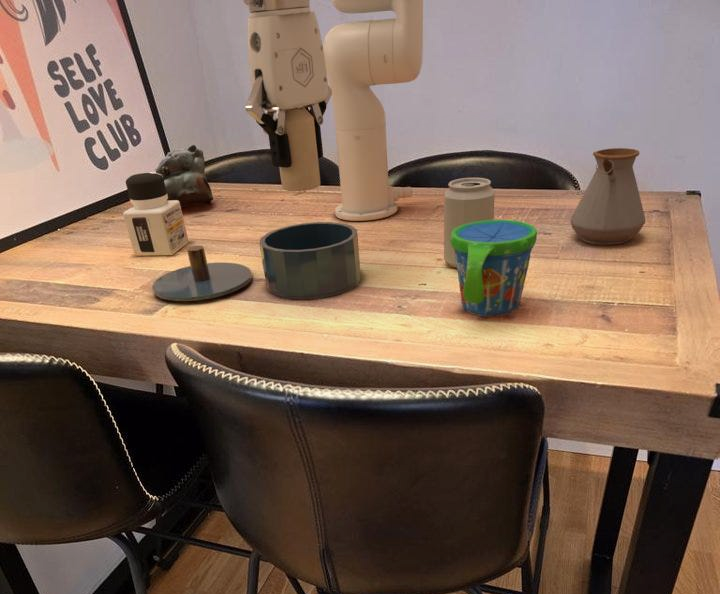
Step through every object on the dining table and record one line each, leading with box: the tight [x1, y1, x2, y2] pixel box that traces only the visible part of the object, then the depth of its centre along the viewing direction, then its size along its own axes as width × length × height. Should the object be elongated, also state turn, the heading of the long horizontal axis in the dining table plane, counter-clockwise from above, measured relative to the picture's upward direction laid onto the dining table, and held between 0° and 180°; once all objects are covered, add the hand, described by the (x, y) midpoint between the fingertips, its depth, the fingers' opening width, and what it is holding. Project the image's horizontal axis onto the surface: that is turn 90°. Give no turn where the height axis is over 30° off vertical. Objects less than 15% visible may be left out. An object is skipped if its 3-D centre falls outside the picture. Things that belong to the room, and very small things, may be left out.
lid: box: [151, 245, 253, 302], centre depth 101 cm, size 16×16×6 cm
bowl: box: [258, 221, 362, 301], centre depth 98 cm, size 15×15×7 cm
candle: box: [273, 106, 321, 192], centre depth 89 cm, size 6×6×10 cm
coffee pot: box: [570, 147, 646, 246], centre depth 99 cm, size 21×12×15 cm, turn 156°
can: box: [443, 177, 496, 269], centre depth 99 cm, size 8×8×12 cm
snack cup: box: [450, 219, 538, 318], centre depth 84 cm, size 16×10×10 cm
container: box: [122, 171, 189, 257], centre depth 117 cm, size 8×8×13 cm
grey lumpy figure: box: [155, 144, 214, 207], centre depth 144 cm, size 15×12×14 cm
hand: (298, 160), depth 90 cm, fingers closed on candle, 5 cm apart
